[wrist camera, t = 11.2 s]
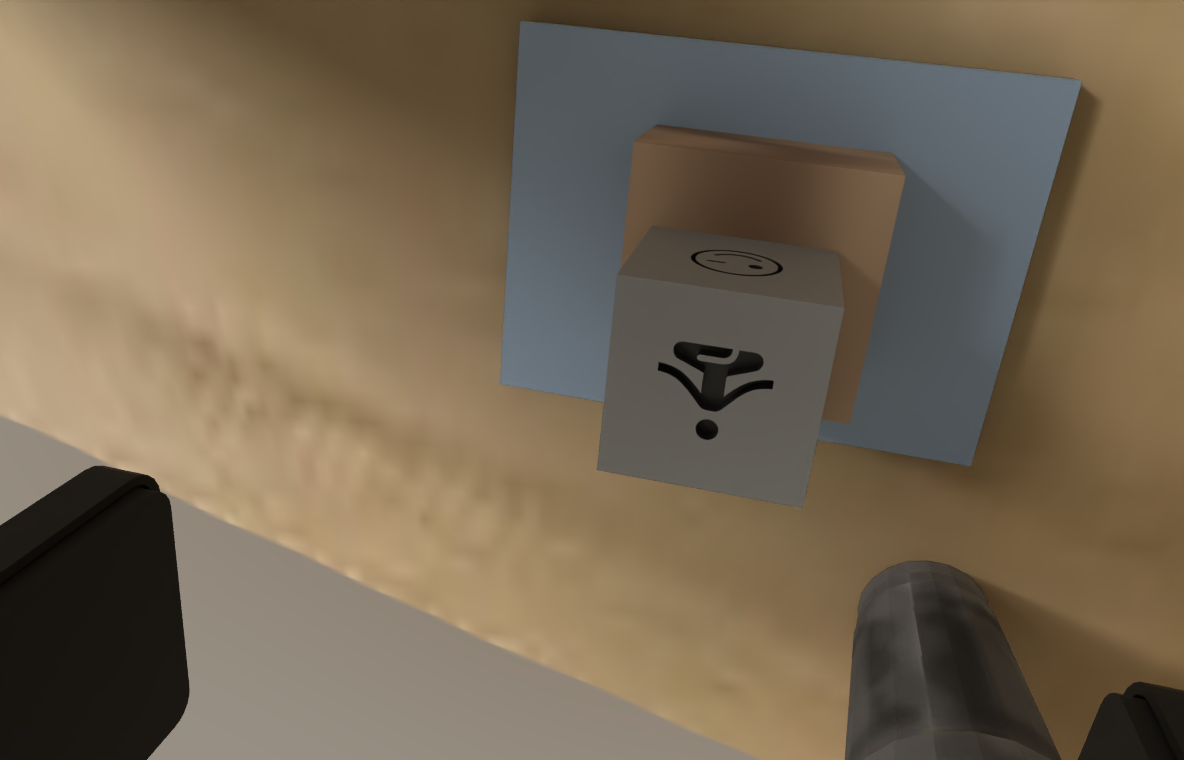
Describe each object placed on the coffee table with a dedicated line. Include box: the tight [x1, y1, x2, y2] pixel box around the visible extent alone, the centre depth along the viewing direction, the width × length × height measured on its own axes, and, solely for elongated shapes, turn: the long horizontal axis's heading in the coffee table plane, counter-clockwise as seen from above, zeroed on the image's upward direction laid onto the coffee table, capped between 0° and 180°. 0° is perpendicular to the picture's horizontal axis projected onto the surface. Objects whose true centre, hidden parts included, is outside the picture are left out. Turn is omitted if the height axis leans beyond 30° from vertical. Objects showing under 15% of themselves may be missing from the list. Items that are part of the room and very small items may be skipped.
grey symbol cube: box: [597, 226, 844, 508], centre depth 23 cm, size 5×5×5 cm
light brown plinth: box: [620, 124, 905, 424], centre depth 27 cm, size 7×7×4 cm
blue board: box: [500, 21, 1082, 466], centre depth 29 cm, size 16×12×1 cm
